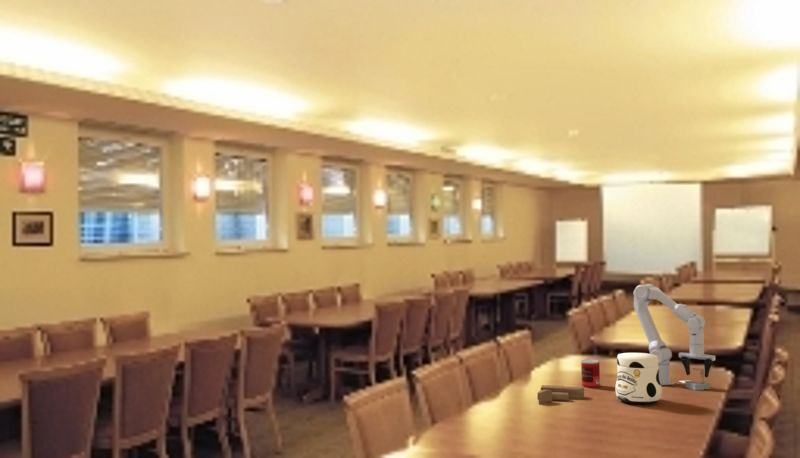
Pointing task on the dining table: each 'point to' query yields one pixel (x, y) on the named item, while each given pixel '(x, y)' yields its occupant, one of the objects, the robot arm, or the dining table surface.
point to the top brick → (697, 375)
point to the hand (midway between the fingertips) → (697, 375)
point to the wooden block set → (559, 393)
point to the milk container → (638, 378)
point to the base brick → (697, 385)
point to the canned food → (590, 373)
